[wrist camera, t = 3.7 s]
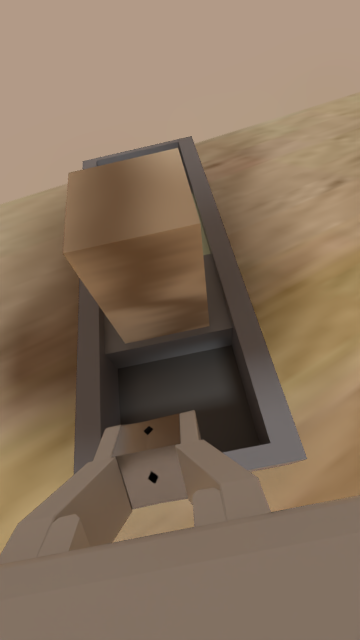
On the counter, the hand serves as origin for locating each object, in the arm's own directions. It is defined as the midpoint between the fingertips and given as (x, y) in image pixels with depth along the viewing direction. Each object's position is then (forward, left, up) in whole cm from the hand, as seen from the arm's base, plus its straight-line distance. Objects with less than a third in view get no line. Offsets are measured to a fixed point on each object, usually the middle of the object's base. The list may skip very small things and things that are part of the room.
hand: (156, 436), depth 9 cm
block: (0, -11, -7) cm, 13 cm away
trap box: (0, -15, -10) cm, 18 cm away
